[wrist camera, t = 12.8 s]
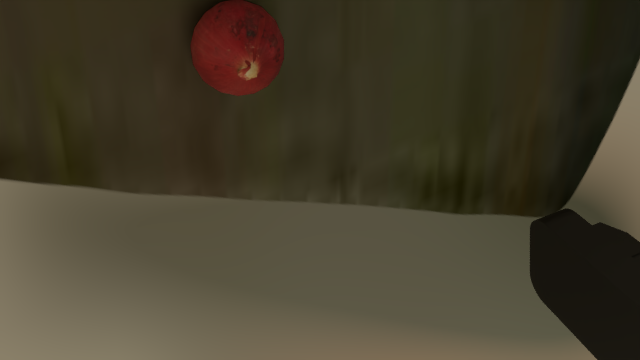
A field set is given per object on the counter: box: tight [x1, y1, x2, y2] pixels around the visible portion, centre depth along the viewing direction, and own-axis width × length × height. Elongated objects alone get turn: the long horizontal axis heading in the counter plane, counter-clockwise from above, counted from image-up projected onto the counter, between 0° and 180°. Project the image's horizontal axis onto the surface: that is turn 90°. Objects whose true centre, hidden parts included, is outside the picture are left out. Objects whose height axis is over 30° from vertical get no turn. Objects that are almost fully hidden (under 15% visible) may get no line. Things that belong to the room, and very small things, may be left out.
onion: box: [190, 0, 284, 96], centre depth 36 cm, size 6×6×8 cm
